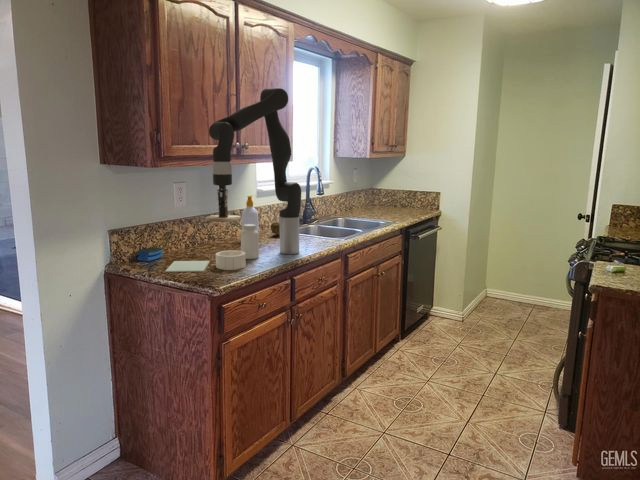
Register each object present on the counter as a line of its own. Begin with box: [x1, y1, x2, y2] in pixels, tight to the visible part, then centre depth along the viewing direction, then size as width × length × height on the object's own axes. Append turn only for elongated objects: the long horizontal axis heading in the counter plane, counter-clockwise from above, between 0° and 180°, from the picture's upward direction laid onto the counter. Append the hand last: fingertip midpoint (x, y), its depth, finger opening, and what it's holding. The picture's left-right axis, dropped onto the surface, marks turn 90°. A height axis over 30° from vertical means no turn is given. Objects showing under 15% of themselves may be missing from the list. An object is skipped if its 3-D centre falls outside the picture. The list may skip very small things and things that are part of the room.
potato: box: [270, 222, 280, 237], centre depth 274 cm, size 8×13×8 cm, turn 147°
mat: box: [164, 260, 210, 273], centre depth 202 cm, size 17×15×1 cm
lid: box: [205, 204, 242, 223], centre depth 198 cm, size 14×14×6 cm
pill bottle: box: [240, 224, 260, 260], centre depth 218 cm, size 8×8×15 cm
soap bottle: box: [241, 194, 259, 233], centre depth 257 cm, size 9×9×24 cm
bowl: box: [215, 250, 247, 271], centre depth 203 cm, size 12×12×6 cm
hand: (223, 215), depth 199 cm, fingers closed on lid, 3 cm apart
